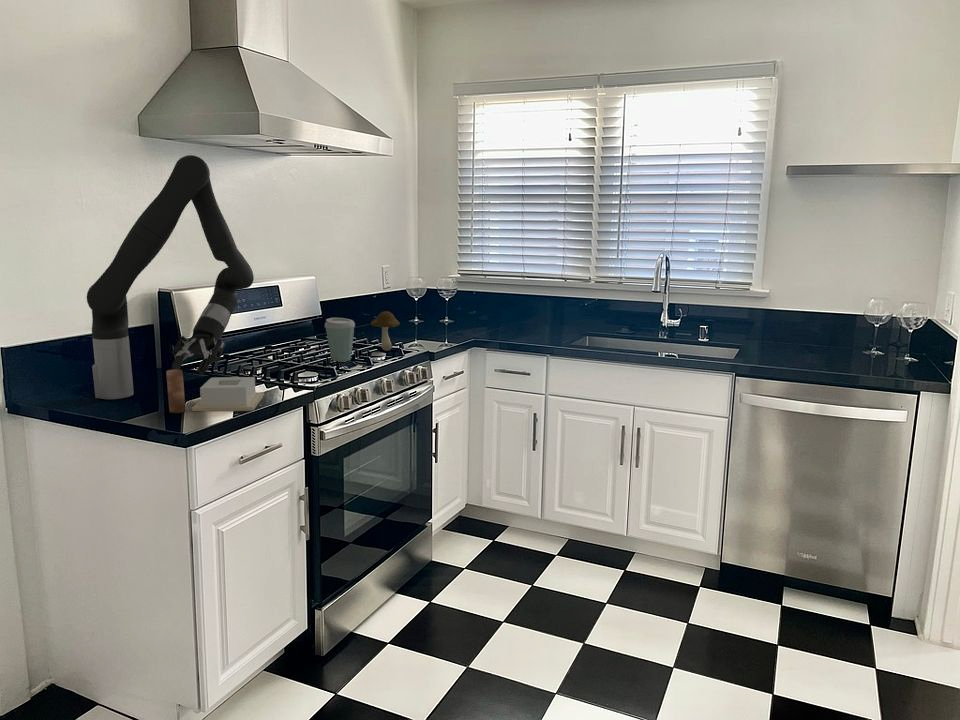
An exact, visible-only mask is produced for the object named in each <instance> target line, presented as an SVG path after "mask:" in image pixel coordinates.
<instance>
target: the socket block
mask: <svg viewBox="0 0 960 720" xmlns="http://www.w3.org/2000/svg"><path fill="white" fill-rule="evenodd" d="M199 392H200V399H199V400H198V401H197V402H196V403H195V404H194V405H193V406H192V407H191V412H192V411H207V412H253V411H254V410H255V409H256V407H257V406H258V405H259V404H260V402H261V401H262V399H264V397H265V392H264V391H262V392H261V391H257V392H256V377H254V376H248V377H247V376H246V377H245V376H244V377H243V376H241V377H236V376H235V377H232V376H230V377H229V376H228V377H225V376H224V377H210V378H209V379H208V380H207V381H206V382H204V383H203V385H202V386H201V387H199ZM263 396H264V397H263Z"/></svg>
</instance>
